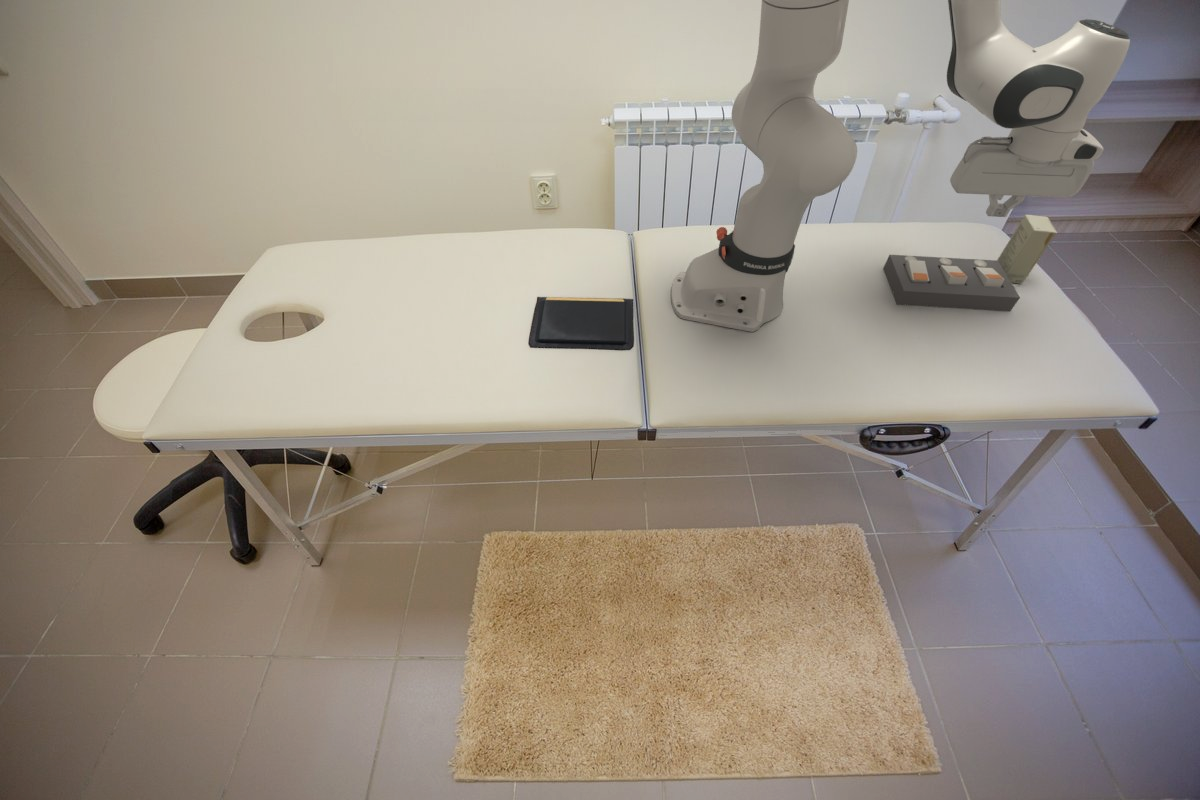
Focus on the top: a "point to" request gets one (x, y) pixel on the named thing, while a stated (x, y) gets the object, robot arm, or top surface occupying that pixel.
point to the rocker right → (989, 277)
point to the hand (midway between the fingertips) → (995, 215)
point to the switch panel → (945, 294)
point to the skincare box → (1026, 247)
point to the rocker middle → (953, 275)
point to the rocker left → (917, 271)
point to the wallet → (582, 323)
